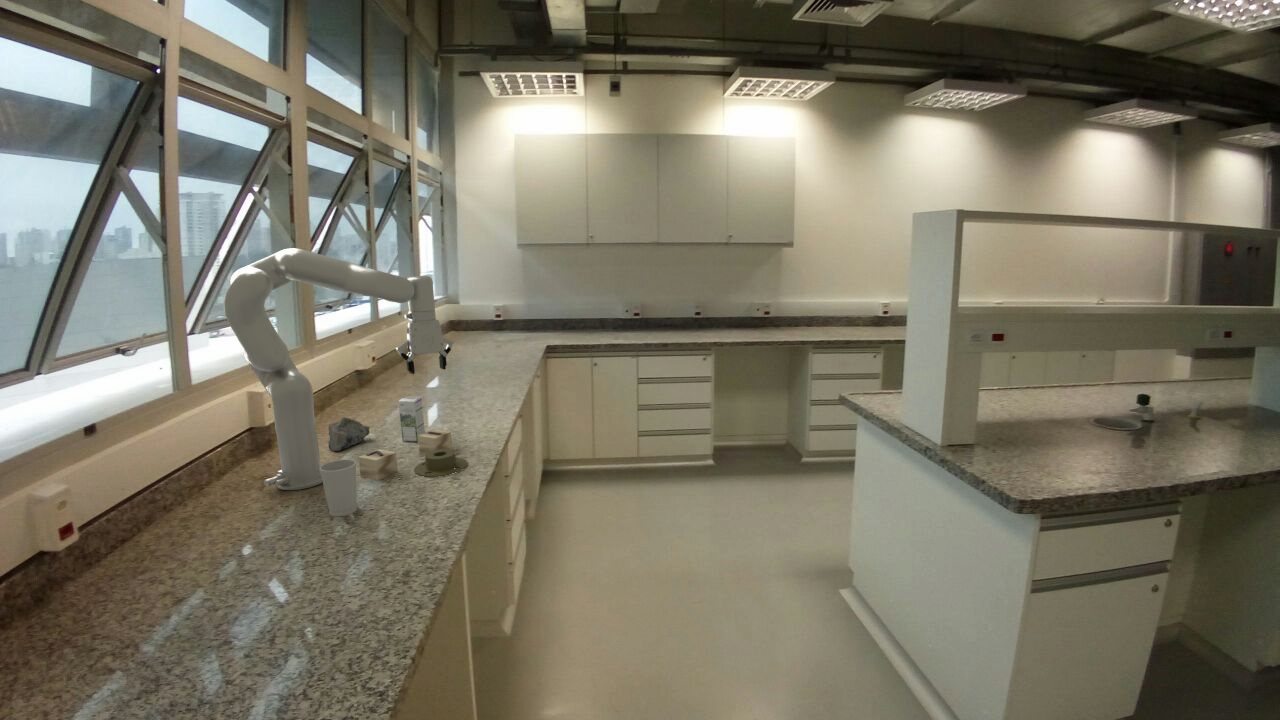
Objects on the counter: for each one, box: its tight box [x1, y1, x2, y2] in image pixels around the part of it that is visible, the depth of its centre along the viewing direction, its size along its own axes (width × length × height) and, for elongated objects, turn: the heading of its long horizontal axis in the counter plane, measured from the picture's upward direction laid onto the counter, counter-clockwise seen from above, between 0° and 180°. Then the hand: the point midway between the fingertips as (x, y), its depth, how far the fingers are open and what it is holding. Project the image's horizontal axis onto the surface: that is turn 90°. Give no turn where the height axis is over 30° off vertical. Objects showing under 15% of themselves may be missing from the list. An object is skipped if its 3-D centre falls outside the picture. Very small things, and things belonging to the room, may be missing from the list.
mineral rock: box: [327, 416, 370, 452], centre depth 194 cm, size 13×11×10 cm
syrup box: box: [398, 396, 426, 443], centre depth 199 cm, size 6×6×14 cm
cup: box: [320, 458, 358, 517], centre depth 145 cm, size 8×8×12 cm
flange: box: [413, 449, 468, 478], centre depth 174 cm, size 5×15×15 cm
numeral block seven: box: [358, 448, 399, 481], centre depth 169 cm, size 7×7×6 cm
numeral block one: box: [417, 429, 453, 455], centre depth 187 cm, size 7×7×6 cm
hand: (427, 371), depth 184 cm, fingers open, 9 cm apart
